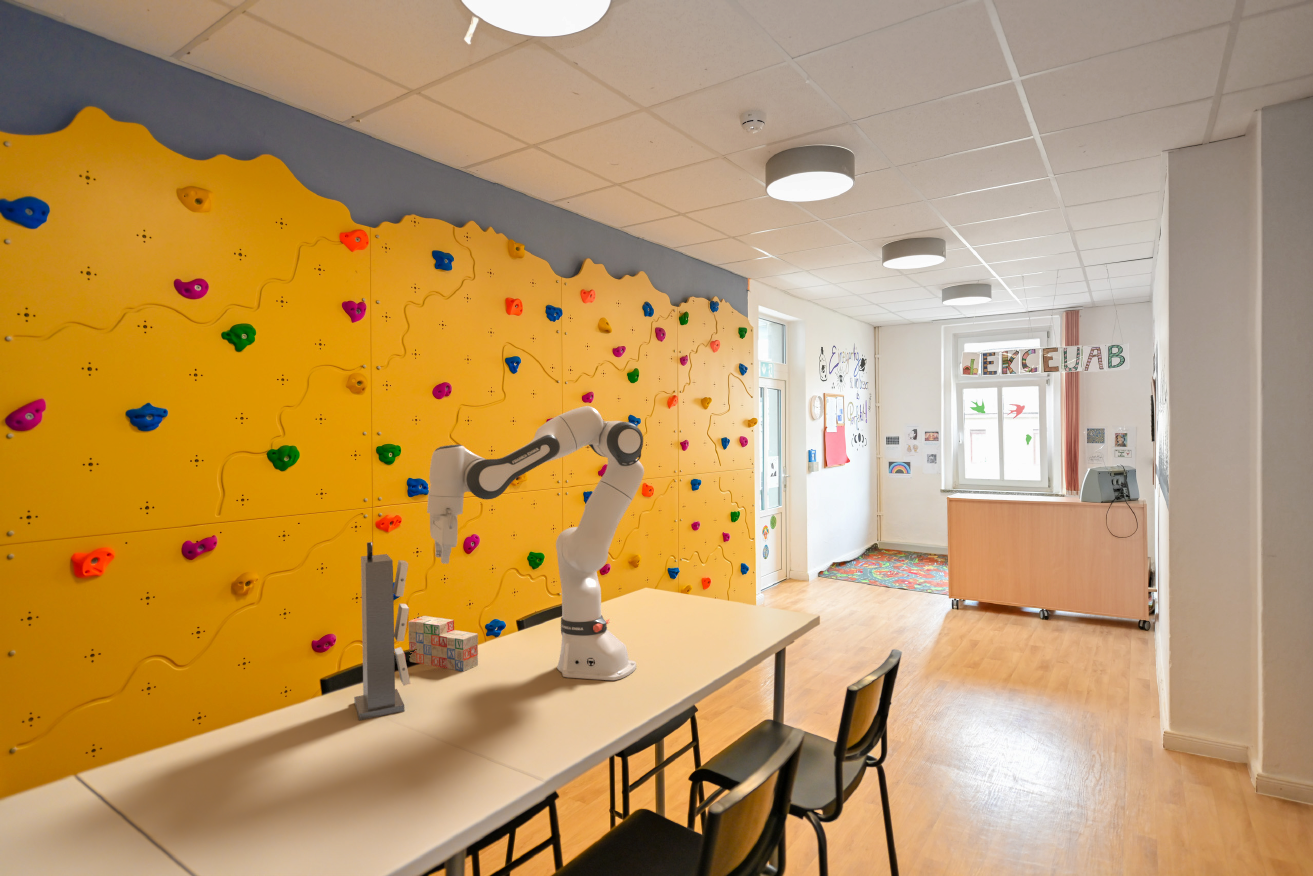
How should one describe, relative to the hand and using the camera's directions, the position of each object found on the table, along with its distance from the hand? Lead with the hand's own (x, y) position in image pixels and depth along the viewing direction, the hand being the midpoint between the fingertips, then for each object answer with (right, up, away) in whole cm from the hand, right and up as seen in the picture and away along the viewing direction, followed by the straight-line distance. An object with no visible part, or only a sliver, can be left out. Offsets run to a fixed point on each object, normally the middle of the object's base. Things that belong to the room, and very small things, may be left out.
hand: (441, 560), depth 173 cm
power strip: (-12, -34, -9) cm, 38 cm away
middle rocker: (-8, -18, -7) cm, 21 cm away
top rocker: (-9, -7, -7) cm, 13 cm away
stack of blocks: (-7, -35, +22) cm, 41 cm away
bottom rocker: (-7, -29, -6) cm, 31 cm away
